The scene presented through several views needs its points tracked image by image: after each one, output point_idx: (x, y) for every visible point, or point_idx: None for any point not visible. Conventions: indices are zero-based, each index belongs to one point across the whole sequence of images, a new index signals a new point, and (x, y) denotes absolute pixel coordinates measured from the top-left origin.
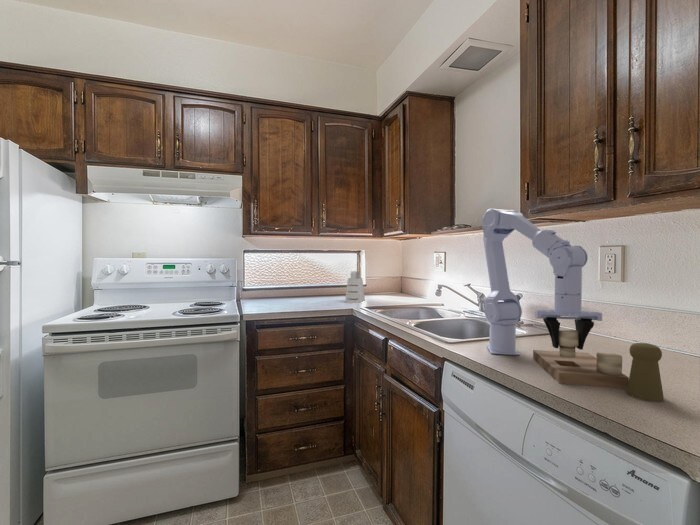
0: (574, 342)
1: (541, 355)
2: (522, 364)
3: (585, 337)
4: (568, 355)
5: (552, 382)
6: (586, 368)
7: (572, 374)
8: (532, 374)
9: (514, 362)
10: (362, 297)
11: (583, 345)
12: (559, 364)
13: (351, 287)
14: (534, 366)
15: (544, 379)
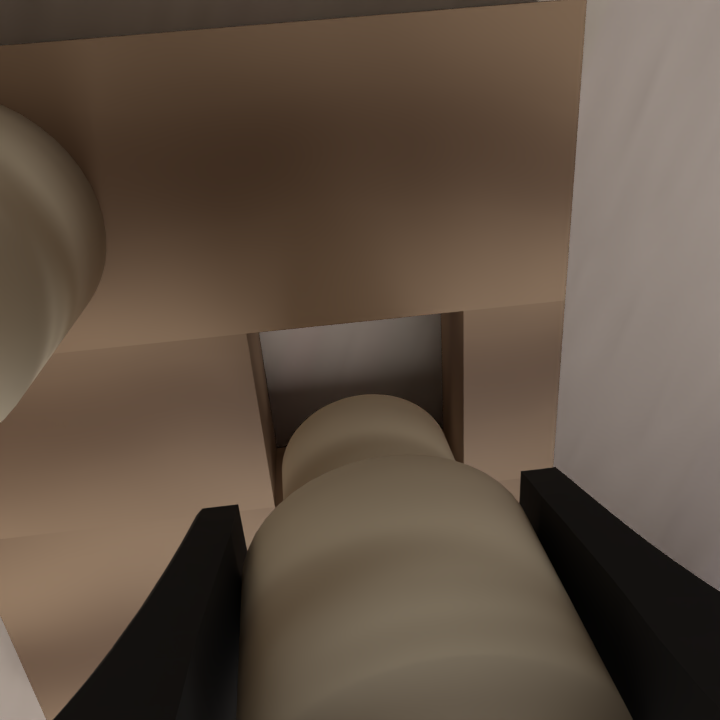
0: (334, 517)
1: None
2: (659, 494)
3: (126, 644)
4: (385, 409)
5: (596, 16)
6: (202, 294)
7: (428, 11)
8: (693, 232)
9: (705, 525)
10: None
11: (180, 546)
12: None
13: None
14: (576, 473)
15: (640, 100)
